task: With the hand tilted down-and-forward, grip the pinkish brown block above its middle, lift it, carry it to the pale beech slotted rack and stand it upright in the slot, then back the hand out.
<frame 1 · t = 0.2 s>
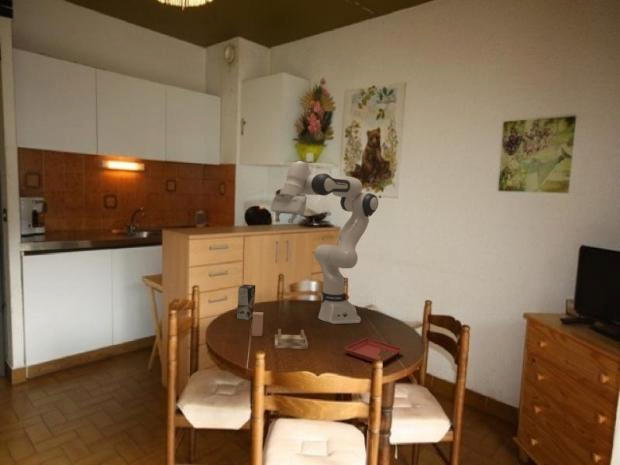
hand: (283, 222, 186), 52 cm above the table, tool tilted 20°, fingers open, 8 cm apart
plant saucer: (372, 356, 171), on the table
coffee box: (245, 317, 212), on the table
rack: (290, 342, 179), on the table
pinkish brown block: (257, 334, 187), on the table
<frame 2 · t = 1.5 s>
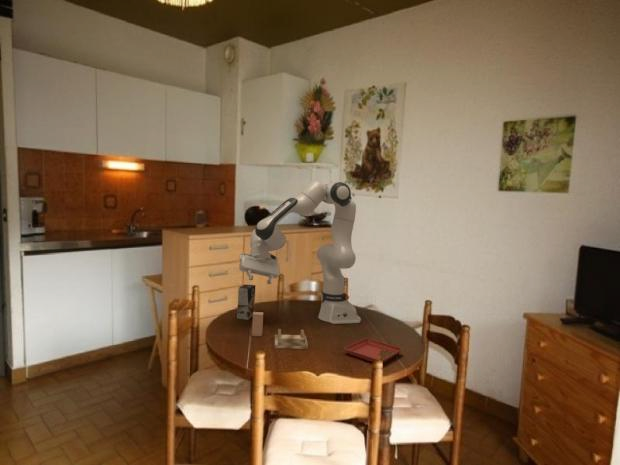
hand: (260, 281, 192), 23 cm above the table, tool tilted 45°, fingers open, 8 cm apart
nothing on the table moved.
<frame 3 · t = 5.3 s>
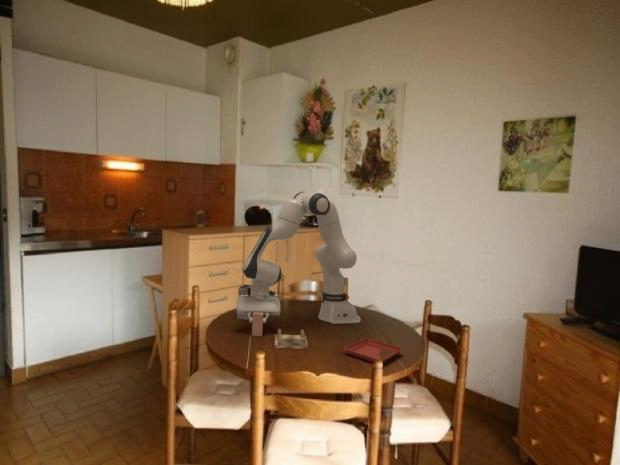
hand: (257, 322, 185), 6 cm above the table, tool tilted 45°, fingers closed on pinkish brown block, 4 cm apart
pinkish brown block: (257, 334, 187), on the table, touching gripper
everything else where it was.
when the fingers open (9 cm above the table, at t = 10.7 s): pinkish brown block drops 1 cm, resting on rack.
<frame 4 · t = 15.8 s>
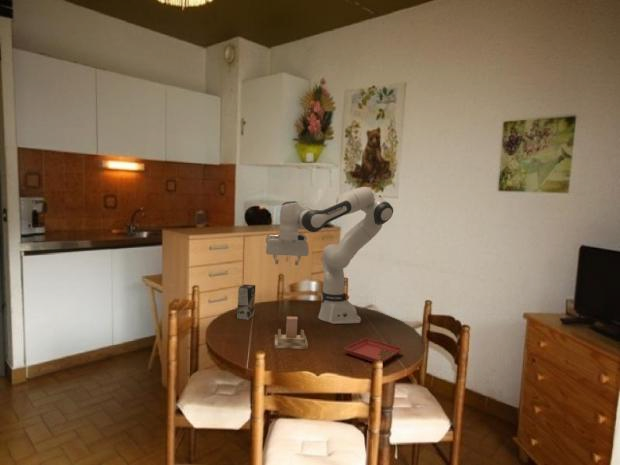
hand: (286, 264, 195), 31 cm above the table, tool pointing down, fingers open, 8 cm apart
pinkish brown block: (290, 340, 179), point 1 cm above the table, touching rack
everything else where it was.
at the end: pinkish brown block inside the target area on the rack (0.2 cm from its centre), point 1.2 cm above the rack's base; pinkish brown block tilted 0°; the gripper is holding nothing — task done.
